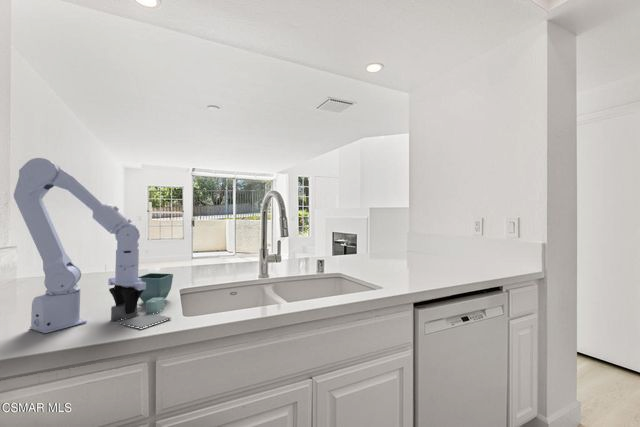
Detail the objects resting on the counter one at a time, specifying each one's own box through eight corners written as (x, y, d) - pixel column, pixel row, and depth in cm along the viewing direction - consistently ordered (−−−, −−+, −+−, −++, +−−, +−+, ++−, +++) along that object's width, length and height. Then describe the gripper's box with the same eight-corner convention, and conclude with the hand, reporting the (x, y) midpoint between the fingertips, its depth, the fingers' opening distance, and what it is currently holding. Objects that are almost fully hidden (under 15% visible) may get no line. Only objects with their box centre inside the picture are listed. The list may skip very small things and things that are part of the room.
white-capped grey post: (115, 321, 86) (116, 308, 86) (108, 319, 87) (108, 307, 87) (142, 314, 93) (143, 302, 93) (135, 312, 95) (135, 300, 95)
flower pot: (160, 305, 103) (160, 278, 103) (134, 304, 103) (134, 277, 103) (173, 298, 111) (173, 273, 112) (149, 298, 112) (149, 273, 112)
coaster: (140, 329, 80) (141, 327, 80) (119, 324, 84) (119, 321, 84) (171, 319, 88) (171, 317, 88) (150, 315, 92) (150, 313, 92)
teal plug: (155, 314, 93) (155, 302, 93) (143, 314, 92) (143, 302, 93) (166, 307, 101) (166, 296, 101) (155, 307, 100) (156, 296, 100)
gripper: (156, 265, 91) (155, 312, 91) (125, 261, 97) (124, 305, 97) (132, 269, 85) (131, 318, 84) (101, 264, 91) (100, 311, 91)
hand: (126, 312), depth 90 cm, fingers closed on white-capped grey post, 3 cm apart
